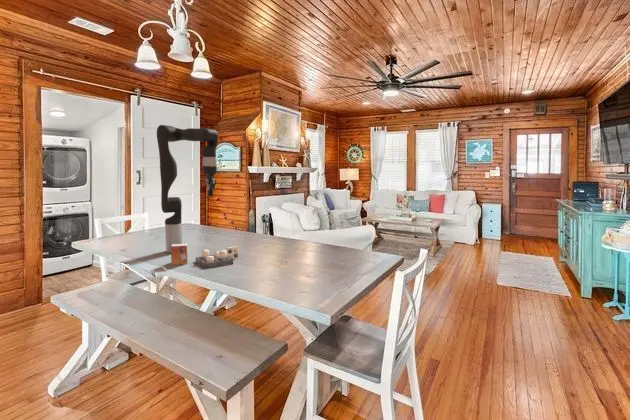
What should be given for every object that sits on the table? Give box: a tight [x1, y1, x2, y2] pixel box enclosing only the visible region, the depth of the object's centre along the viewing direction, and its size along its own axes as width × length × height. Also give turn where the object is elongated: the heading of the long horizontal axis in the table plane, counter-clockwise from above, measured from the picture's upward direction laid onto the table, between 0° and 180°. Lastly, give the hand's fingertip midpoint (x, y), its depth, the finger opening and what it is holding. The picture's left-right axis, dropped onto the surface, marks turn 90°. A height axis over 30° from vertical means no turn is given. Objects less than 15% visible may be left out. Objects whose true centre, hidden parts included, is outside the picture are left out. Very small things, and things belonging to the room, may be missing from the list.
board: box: [195, 254, 234, 269], centre depth 182 cm, size 15×15×3 cm
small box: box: [170, 243, 189, 266], centre depth 181 cm, size 8×6×10 cm
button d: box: [214, 250, 220, 258], centre depth 187 cm, size 4×4×4 cm
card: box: [225, 246, 240, 260], centre depth 192 cm, size 3×7×7 cm, turn 127°
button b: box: [219, 249, 227, 260], centre depth 181 cm, size 4×4×4 cm
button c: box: [201, 249, 210, 259], centre depth 183 cm, size 4×4×4 cm
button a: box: [206, 256, 214, 263], centre depth 177 cm, size 4×4×4 cm
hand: (210, 196), depth 192 cm, fingers closed
